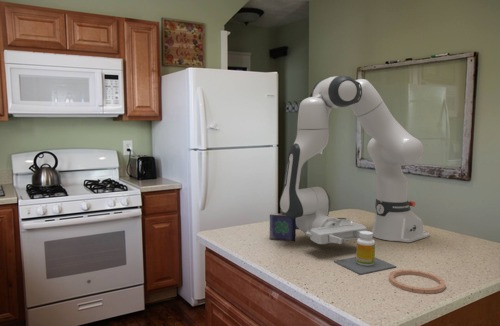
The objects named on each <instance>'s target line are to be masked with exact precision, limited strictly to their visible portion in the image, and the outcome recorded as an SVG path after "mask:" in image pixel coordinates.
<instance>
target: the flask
mask: <svg viewBox="0 0 500 326" xmlns="http://www.w3.org/2000/svg"><path fill="white" fill-rule="evenodd" d="M279 211H280V213H270V214H269V240H271V241H279V240H280V242H282V241H283V242H291V243H293V242H296V237H297V236H296V234H297V233H296V230H297V229H296V218H294V219H291V218H289V217H287V216H286V215H285V214H284V213H283V212H282V211H281V209H280V210H279Z"/></svg>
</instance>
